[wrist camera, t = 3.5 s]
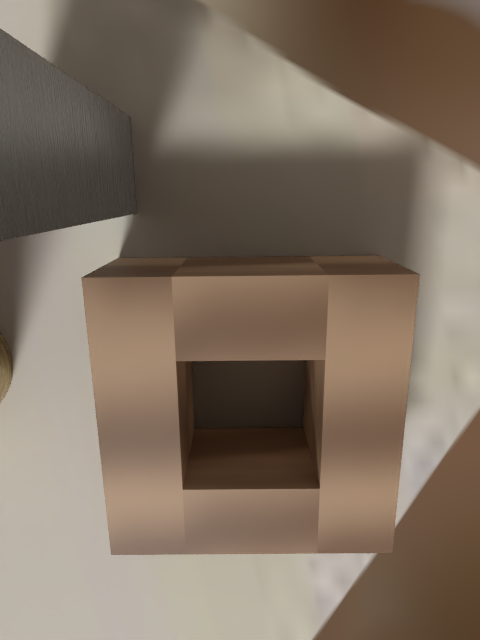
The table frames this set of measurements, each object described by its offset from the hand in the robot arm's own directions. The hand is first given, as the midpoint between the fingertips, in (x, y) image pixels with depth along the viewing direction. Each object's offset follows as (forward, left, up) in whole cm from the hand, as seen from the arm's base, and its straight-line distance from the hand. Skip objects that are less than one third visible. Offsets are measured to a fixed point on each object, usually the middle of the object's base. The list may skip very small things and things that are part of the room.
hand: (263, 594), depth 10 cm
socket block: (0, 0, -13) cm, 13 cm away
